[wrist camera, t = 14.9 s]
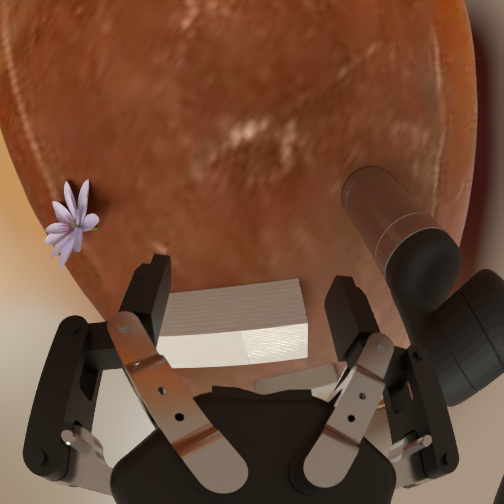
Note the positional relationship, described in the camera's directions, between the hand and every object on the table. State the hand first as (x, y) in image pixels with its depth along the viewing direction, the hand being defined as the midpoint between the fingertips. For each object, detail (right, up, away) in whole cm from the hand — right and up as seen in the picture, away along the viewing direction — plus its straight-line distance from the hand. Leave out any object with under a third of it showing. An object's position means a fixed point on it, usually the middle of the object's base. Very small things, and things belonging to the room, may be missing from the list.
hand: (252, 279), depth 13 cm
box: (+17, -43, +69) cm, 83 cm away
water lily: (-28, +9, +28) cm, 41 cm away
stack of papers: (-7, -10, +43) cm, 44 cm away
